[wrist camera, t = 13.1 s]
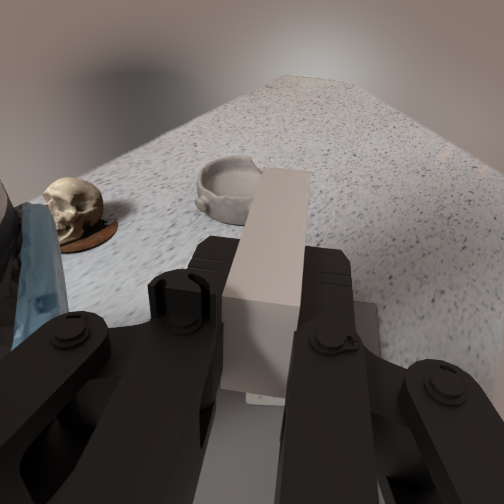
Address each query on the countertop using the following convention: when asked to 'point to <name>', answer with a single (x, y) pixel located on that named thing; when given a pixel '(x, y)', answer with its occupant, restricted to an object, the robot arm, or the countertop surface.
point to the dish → (227, 189)
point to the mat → (256, 438)
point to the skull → (77, 214)
